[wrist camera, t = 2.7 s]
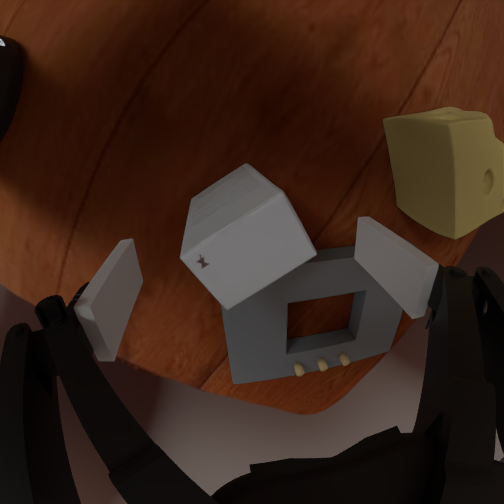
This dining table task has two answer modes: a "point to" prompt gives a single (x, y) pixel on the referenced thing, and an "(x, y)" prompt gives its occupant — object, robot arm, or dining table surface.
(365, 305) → the grey frame plate
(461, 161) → the cheese
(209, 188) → the skincare box
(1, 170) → the dining table surface
